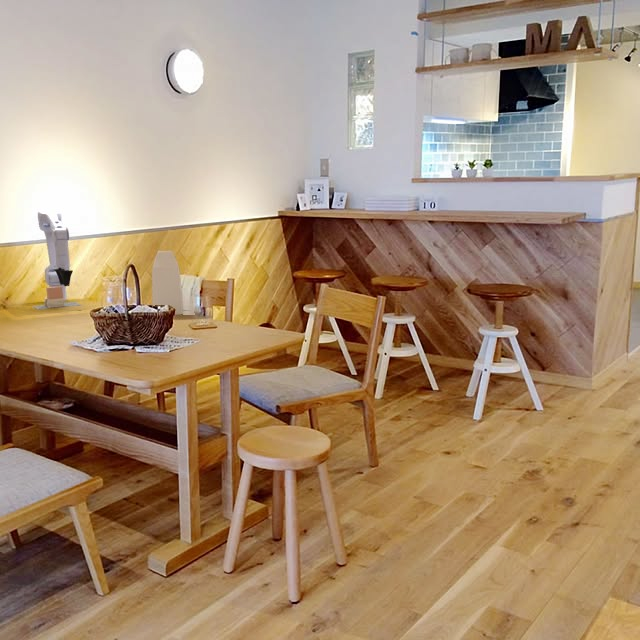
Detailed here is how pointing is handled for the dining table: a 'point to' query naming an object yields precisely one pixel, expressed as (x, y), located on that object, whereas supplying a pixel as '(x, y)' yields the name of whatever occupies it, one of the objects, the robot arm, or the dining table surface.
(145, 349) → the dining table surface
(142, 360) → the dining table surface
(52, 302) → the birch block
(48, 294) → the terracotta brick
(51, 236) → the robot arm
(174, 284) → the milk
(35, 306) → the baseplate
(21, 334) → the dining table surface
